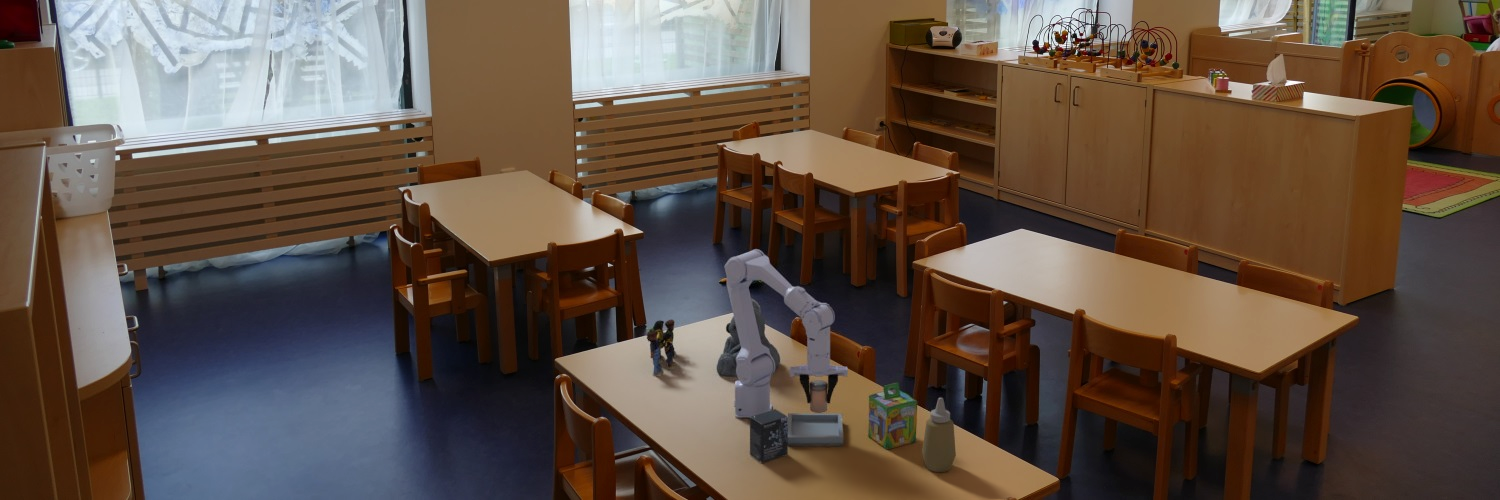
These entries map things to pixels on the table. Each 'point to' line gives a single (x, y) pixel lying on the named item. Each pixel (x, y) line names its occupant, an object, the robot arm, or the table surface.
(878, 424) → the chalk box
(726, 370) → the koala plush
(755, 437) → the box
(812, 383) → the shaker
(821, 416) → the tray
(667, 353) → the doll family
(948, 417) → the squeeze bottle
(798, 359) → the table surface
